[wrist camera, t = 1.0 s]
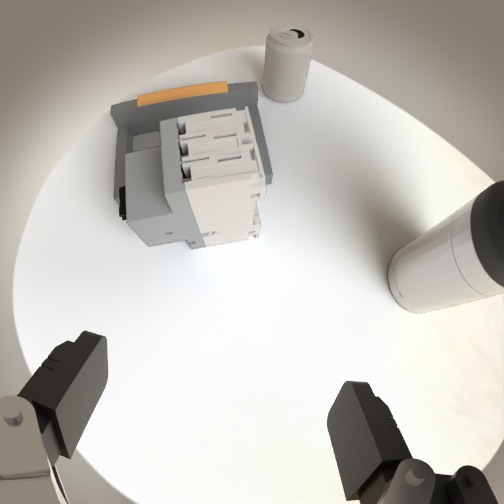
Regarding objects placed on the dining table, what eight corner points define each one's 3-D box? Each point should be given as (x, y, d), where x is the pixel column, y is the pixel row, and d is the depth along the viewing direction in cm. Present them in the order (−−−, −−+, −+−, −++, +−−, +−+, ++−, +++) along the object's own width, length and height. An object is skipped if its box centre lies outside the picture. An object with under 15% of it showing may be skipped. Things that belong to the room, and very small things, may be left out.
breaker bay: (254, 109, 44) (256, 78, 38) (271, 183, 41) (276, 156, 34) (123, 130, 43) (110, 102, 36) (120, 206, 39) (101, 183, 33)
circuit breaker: (139, 203, 39) (96, 137, 25) (247, 183, 41) (250, 106, 26) (144, 258, 37) (92, 210, 23) (258, 237, 39) (268, 176, 24)
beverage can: (310, 99, 45) (325, 41, 34) (274, 110, 44) (283, 50, 33) (289, 74, 47) (298, 18, 35) (255, 84, 46) (258, 26, 34)
